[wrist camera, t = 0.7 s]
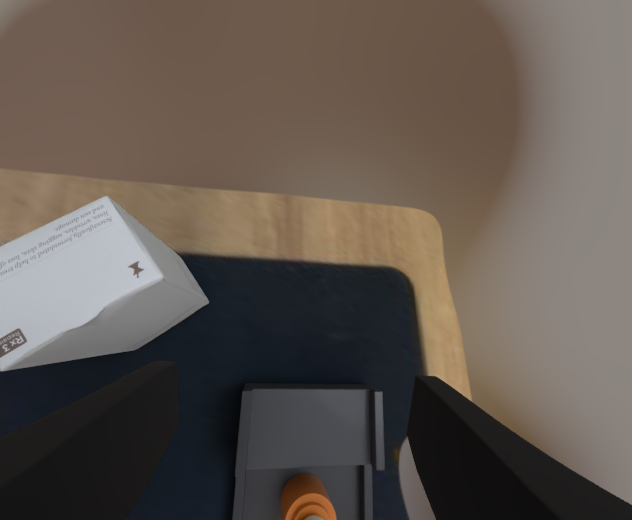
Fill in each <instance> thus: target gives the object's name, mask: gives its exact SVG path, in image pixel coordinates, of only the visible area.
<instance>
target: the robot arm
mask: <svg viewBox="0 0 632 520" xmlns="http://www.w3.org/2000/svg"><path fill="white" fill-rule="evenodd" d="M178 422H179V414H178V382H177V362H171V361H155V362H152V363H150V364H148V365H145V366H143V367H141V368H139V369H137V370H135V371H133V372H132V373H130V374H128V375H126V376H124V377H122V378H120V379H118V380H116V381H114V382H113V383H111V384H109V385H107V386H105V387H103V388H101V389H99V390H97V391H95V392H93V393H91V394H90V395H88V396H86V397H84V398H82V399H80V400H78V401H76V402H74V403H72V404H70V405H68V406H66V407H64V408H62V409H59V410H57V411H55V412H53V413H51V414H49V415H47V416H45V417H43V418H41V419H39V420H37V421H35V422H33V423H31V424H29V425H27V426H24V427H22V428H20V429H18V430H16V431H13V432H11V433H9V434H7V435H4V436H2V437H0V520H126V518H127V516H128V515H129V513H130V511H131V510H132V508H133V506H134V505H135V503H136V501H137V500H138V498H139V496H140V495H141V493H142V491H143V490H144V488H145V486H146V485H147V483H148V481H149V480H150V478H151V476H152V475H153V473H154V471H155V469H156V468H157V466H158V464H159V463H160V461H161V459H162V457H163V455H164V453H165V451H166V449H167V447H168V445H169V442H170V440H171V438H172V436H173V433H174V431H175V429H176V427H177V424H178ZM407 436H408V440H409V444H410V447H411V451H412V454H413V458H414V462H415V465H416V469H417V472H418V474H419V476H420V479H421V482H422V484H423V487H424V490H425V492H426V495H427V497H428V500H429V502H430V505H431V508H432V510H433V512H434V515H435V518H436V520H632V505H631V504H629V503H627V502H625V501H624V500H622V499H620V498H618V497H616V496H615V495H613V494H611V493H609V492H608V491H606V490H604V489H603V488H601V487H599V486H598V485H596V484H594V483H593V482H591V481H589V480H587V479H586V478H584V477H582V476H581V475H579V474H577V473H576V472H574V471H572V470H571V469H569V468H567V467H566V466H564V465H563V464H561V463H559V462H558V461H556V460H555V459H553V458H551V457H550V456H548V455H547V454H545V453H544V452H542V451H541V450H539V449H538V448H536V447H535V446H533V445H532V444H530V443H529V442H527V441H526V440H524V439H523V438H521V437H520V436H518V435H517V434H516V433H514V432H513V431H511V430H510V429H508V428H507V427H506V426H504V425H502V424H501V423H500V422H499V421H497V420H496V419H494V418H493V417H492V416H490V415H489V414H487V413H486V412H485V411H483V410H482V409H481V408H479V407H478V406H477V405H475V404H474V403H472V402H471V401H470V400H468V399H467V398H466V397H464V396H463V395H462V394H460V393H459V392H458V391H456V390H455V389H453V388H452V387H451V386H449V385H448V384H446V383H445V382H443V381H442V380H440V379H439V378H437V377H436V376H418V375H416V377H415V383H414V390H413V396H412V403H411V409H410V416H409V422H408V429H407Z"/></svg>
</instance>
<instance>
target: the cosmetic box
mask: <svg viewBox="0 0 632 520" xmlns="http://www.w3.org/2000/svg"><path fill="white" fill-rule="evenodd" d="M208 303H209V300H208V299H207V297H206V296H205V294H204V293H203V291H202V289H201V288H200V286H199V285H198V283H197V282H196V280H195V279H194V277H193V276H192V274H191V272H190V271H189V269H188V268H187V266H186V265H185V263H184V262H183V260H182V259H181V257H180V256H179V255H177V254H176V253H175V252H174V251H173V250H172V249H170V248H169V247H168V246H167V245H166V244H164V243H163V242H162V241H161V240H160V239H158V238H157V237H156V236H155V235H154V234H153V233H151V232H150V231H149V230H148V229H147V228H146V227H144V226H143V225H142V224H141V223H140V222H138V221H137V220H136V219H135V218H134V217H132V216H131V215H130V214H129V213H128V212H126V211H125V210H124V209H123V208H122V207H120V206H119V205H118V204H117V203H115V202H114V201H113V200H112V199H110V198H109V197H108V196H104V197H102V198H100V199H98V200H95V201H93V202H91V203H89V204H87V205H85V206H83V207H81V208H79V209H77V210H75V211H73V212H71V213H69V214H67V215H65V216H63V217H61V218H58V219H56V220H54V221H52V222H50V223H48V224H46V225H44V226H42V227H40V228H38V229H36V230H33V231H31V232H29V233H27V234H25V235H23V236H21V237H19V238H17V239H15V240H13V241H11V242H9V243H7V244H5V245H2V246H0V371H7V370H13V369H20V368H26V367H32V366H39V365H45V364H51V363H57V362H63V361H69V360H75V359H82V358H88V357H94V356H101V355H107V354H113V353H119V352H126V351H134V350H136V349H138V348H140V347H141V346H143V345H145V344H146V343H148V342H149V341H151V340H153V339H154V338H156V337H157V336H159V335H161V334H162V333H164V332H165V331H167V330H168V329H170V328H171V327H173V326H175V325H176V324H178V323H179V322H181V321H182V320H184V319H185V318H187V317H188V316H190V315H191V314H192V313H194V312H195V311H197V310H198V309H200V308H202V307H203V306H205V305H207V304H208Z"/></svg>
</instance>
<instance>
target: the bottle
mask: <svg viewBox="0 0 632 520" xmlns="http://www.w3.org/2000/svg"><path fill="white" fill-rule="evenodd" d="M281 513H282V520H337V519H336V513H335V510H334V507H333V505H332V503H331V501H330V498H329V496H328V494H327V492H326V489H325V487H324V485H323V483H322V482H321V480H320V479H319V478H318V477H316V476H315V475H313V474H309V473H301V474H298V475H296V476H294V477H293V478H291V479H290V480H289V481H288V483H287V484H286V485H285V487H284V489H283V492H282V495H281Z"/></svg>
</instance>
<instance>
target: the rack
mask: <svg viewBox="0 0 632 520" xmlns="http://www.w3.org/2000/svg"><path fill="white" fill-rule="evenodd" d="M372 466H373V468H374V469H375V470H376V471H381V470H385V456H384V423H383V392H382V391H380V390H378V389H375V388H373V387H370V386H368V385H365V384H310V383H245V385H244V388H243V391H242V399H241V410H240V421H239V432H238V443H237V454H236V465H235V477H236V482H235V493H234V504H233V515H232V520H282V513H281V495H282V492H283V489H284V487H285V485H286V484H287V483H288V481H289V480H290V479H291V478H293V477H294V476H296V475H298V474H301V473H309V474H313V475H315V476H316V477H318V478H319V479H320V480H321V482H322V483H323V485H324V487H325V489H326V492H327V494H328V496H329V498H330V501H331V503H332V505H333V507H334V510H335V513H336V519H337V520H373V499H372Z"/></svg>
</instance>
